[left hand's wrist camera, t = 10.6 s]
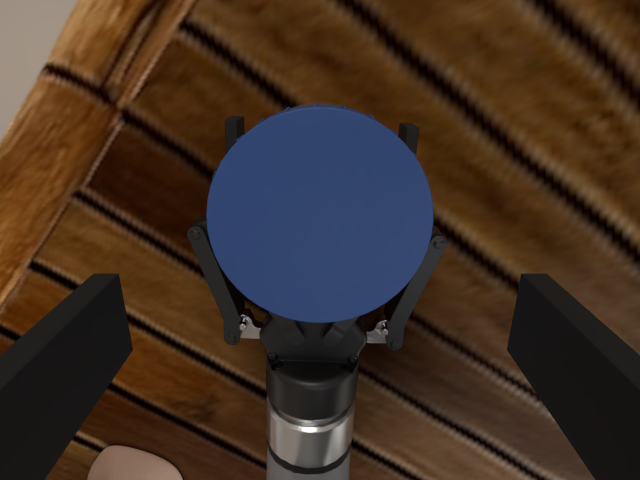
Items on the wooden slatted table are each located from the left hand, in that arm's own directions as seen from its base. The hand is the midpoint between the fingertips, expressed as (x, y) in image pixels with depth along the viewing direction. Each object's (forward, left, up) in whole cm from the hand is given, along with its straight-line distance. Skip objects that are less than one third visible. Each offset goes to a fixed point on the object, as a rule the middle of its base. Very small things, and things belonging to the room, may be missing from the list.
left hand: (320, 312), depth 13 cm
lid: (0, 0, -9) cm, 9 cm away
